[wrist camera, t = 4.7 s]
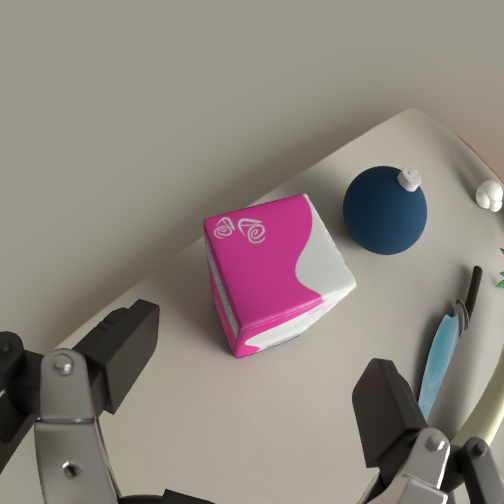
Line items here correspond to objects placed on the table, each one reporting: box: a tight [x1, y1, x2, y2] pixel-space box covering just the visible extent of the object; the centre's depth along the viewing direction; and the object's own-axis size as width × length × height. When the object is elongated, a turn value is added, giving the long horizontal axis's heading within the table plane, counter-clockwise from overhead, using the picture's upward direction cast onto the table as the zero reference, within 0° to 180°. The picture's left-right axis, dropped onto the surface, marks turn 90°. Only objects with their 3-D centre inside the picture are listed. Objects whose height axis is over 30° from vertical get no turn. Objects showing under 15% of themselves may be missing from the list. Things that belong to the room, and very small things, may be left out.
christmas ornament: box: [343, 166, 427, 255], centre depth 23 cm, size 8×8×10 cm
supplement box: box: [203, 194, 357, 359], centre depth 17 cm, size 6×6×12 cm
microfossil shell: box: [476, 180, 503, 211], centre depth 31 cm, size 4×5×6 cm
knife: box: [418, 266, 482, 421], centre depth 22 cm, size 22×2×5 cm
